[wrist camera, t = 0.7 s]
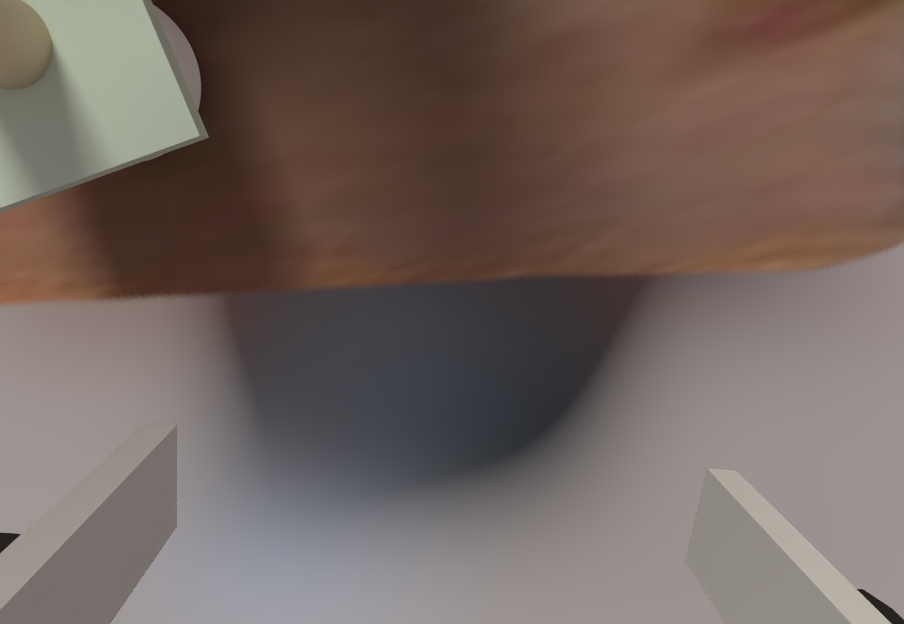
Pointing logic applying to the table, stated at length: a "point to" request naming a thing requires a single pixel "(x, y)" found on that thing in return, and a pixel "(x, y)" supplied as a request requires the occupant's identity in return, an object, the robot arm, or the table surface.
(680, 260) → the table surface
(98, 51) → the lid
